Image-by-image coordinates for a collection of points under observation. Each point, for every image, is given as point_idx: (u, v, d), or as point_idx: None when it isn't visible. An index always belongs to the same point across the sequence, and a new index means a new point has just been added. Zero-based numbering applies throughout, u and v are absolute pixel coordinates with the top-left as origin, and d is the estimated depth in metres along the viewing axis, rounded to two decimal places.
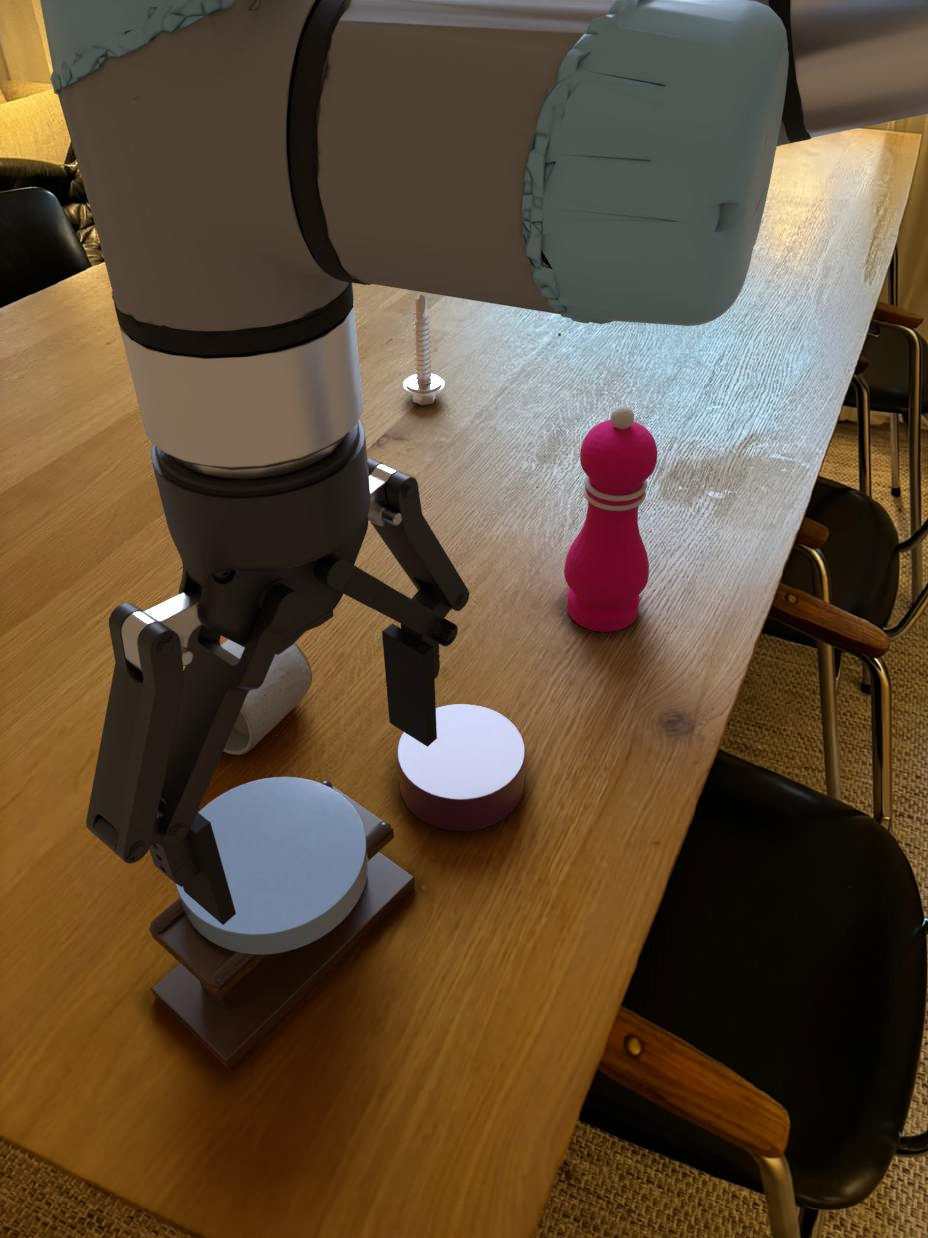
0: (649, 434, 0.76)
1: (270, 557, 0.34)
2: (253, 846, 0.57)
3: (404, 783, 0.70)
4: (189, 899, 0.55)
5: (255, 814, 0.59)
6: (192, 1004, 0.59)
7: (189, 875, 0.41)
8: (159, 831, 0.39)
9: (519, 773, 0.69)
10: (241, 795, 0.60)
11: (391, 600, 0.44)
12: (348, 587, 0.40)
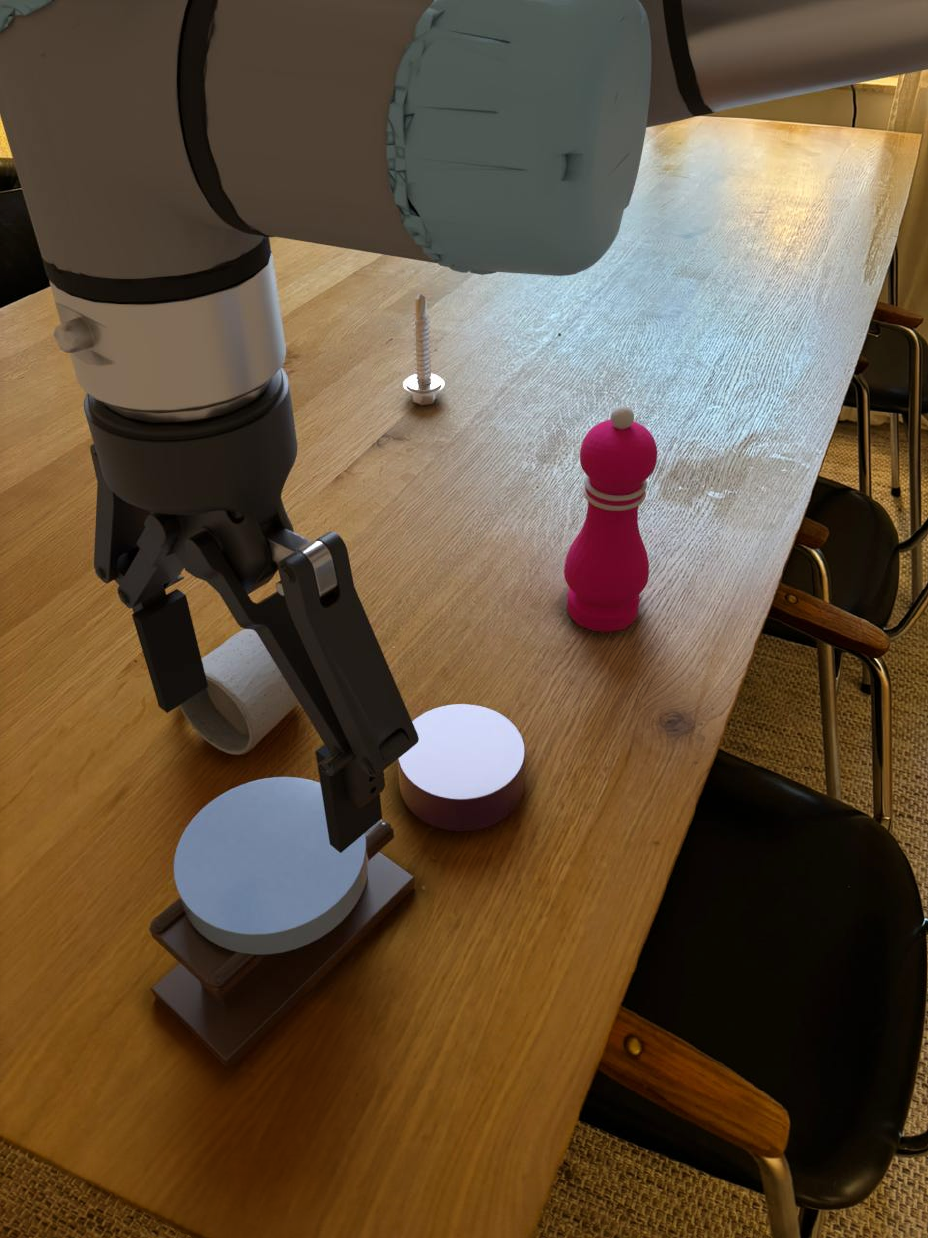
0: (649, 434, 0.76)
1: (296, 440, 0.39)
2: (253, 846, 0.57)
3: (404, 783, 0.70)
4: (189, 899, 0.55)
5: (255, 814, 0.59)
6: (192, 1004, 0.59)
7: None
8: None
9: (519, 773, 0.69)
10: (241, 795, 0.60)
11: None
12: None
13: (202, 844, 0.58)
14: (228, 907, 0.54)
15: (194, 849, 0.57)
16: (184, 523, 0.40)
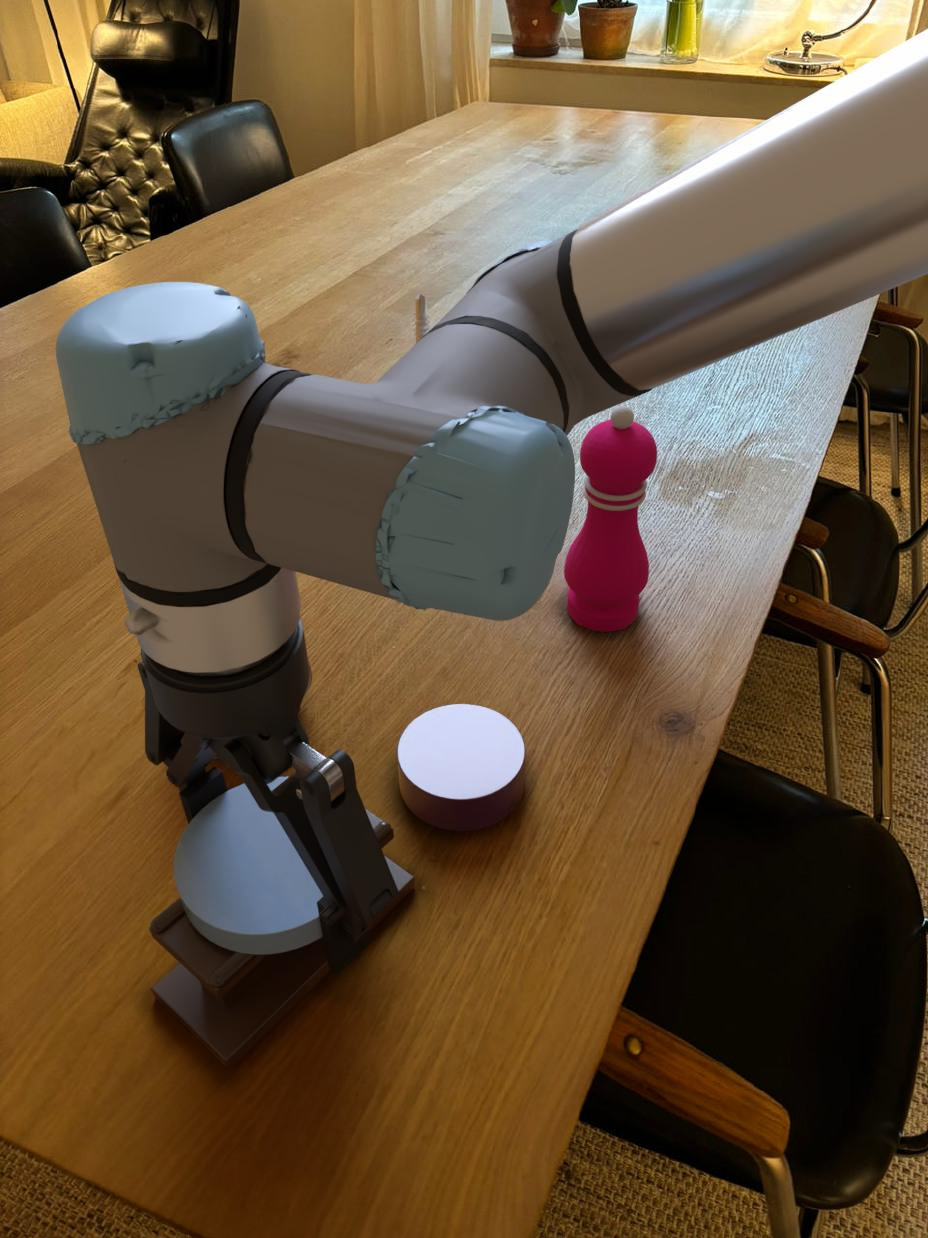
0: (649, 434, 0.76)
1: (308, 665, 0.49)
2: (253, 846, 0.57)
3: (404, 783, 0.70)
4: (189, 899, 0.55)
5: (255, 814, 0.59)
6: (192, 1004, 0.59)
7: None
8: None
9: (519, 773, 0.69)
10: (241, 795, 0.60)
11: None
12: None
13: (202, 844, 0.58)
14: (228, 907, 0.54)
15: (194, 849, 0.57)
16: None
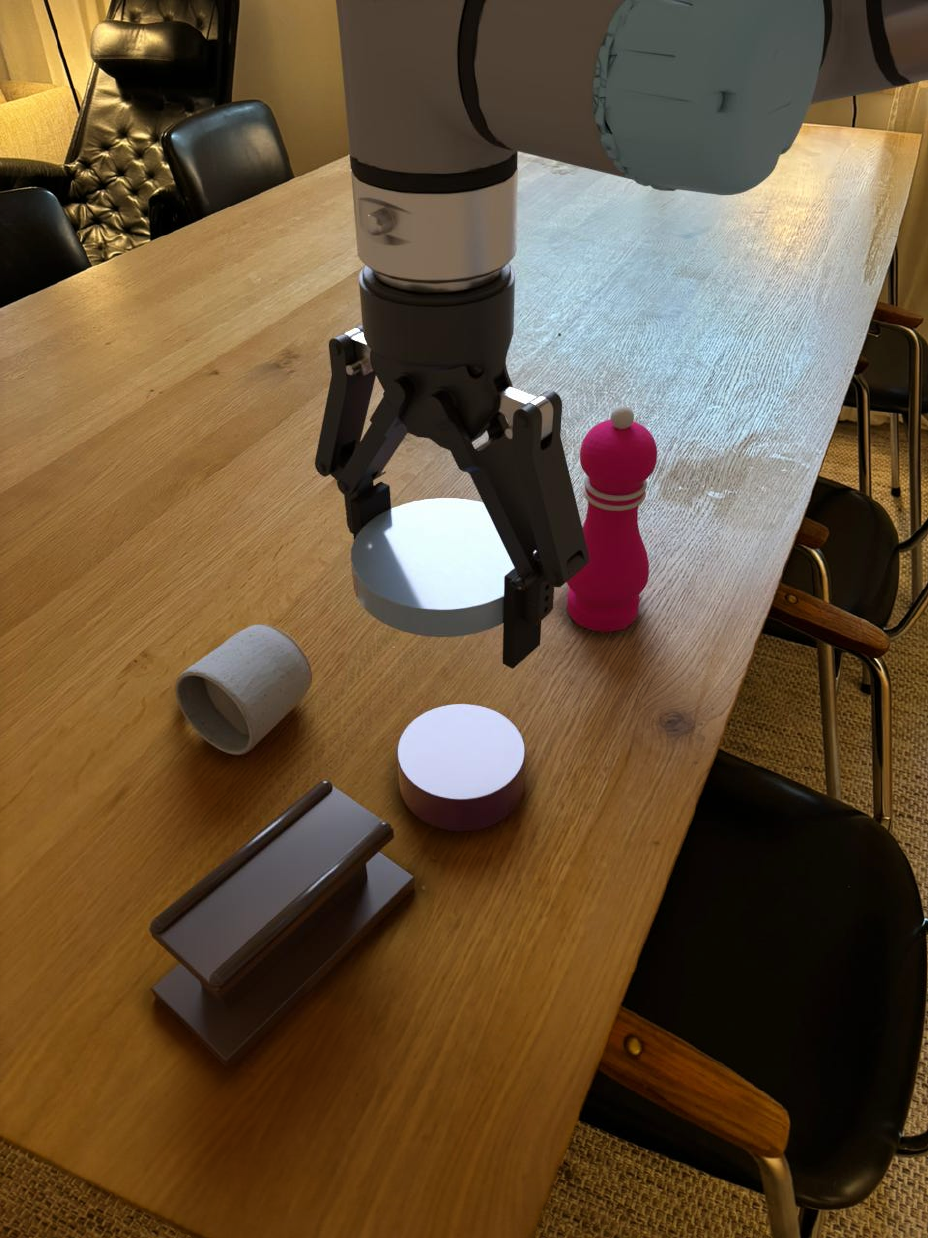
0: (649, 434, 0.76)
1: None
2: (426, 547, 0.58)
3: (404, 783, 0.70)
4: (372, 585, 0.56)
5: (423, 524, 0.60)
6: (192, 1004, 0.59)
7: None
8: None
9: (519, 773, 0.69)
10: (406, 511, 0.61)
11: None
12: None
13: (376, 546, 0.59)
14: (412, 591, 0.55)
15: (369, 550, 0.58)
16: (418, 387, 0.51)
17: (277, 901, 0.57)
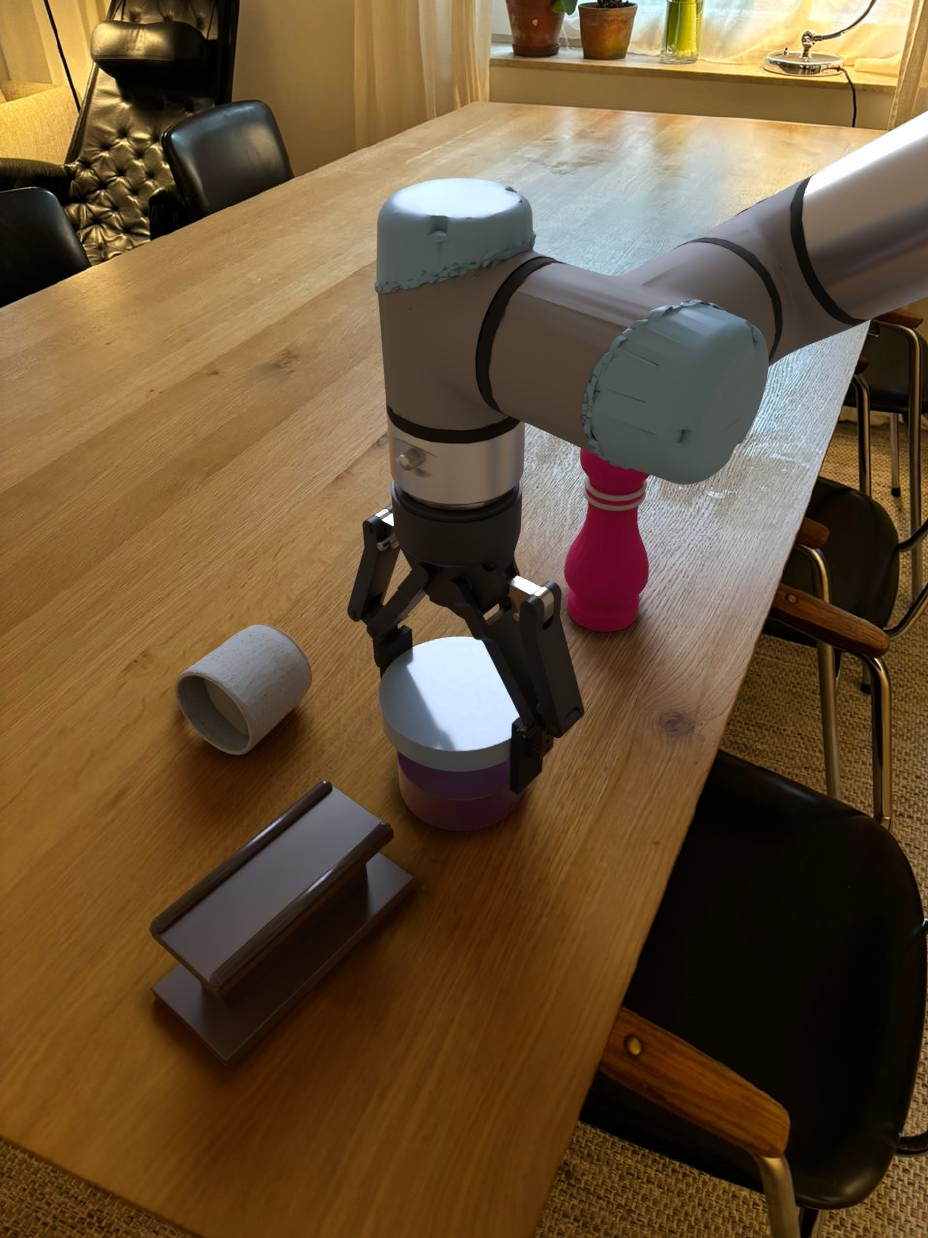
0: None
1: None
2: (444, 687, 0.67)
3: (404, 783, 0.70)
4: (398, 726, 0.65)
5: (441, 663, 0.69)
6: (192, 1004, 0.59)
7: None
8: None
9: None
10: (426, 650, 0.70)
11: None
12: None
13: (400, 686, 0.67)
14: (432, 731, 0.64)
15: (394, 689, 0.67)
16: (439, 569, 0.60)
17: (277, 901, 0.57)
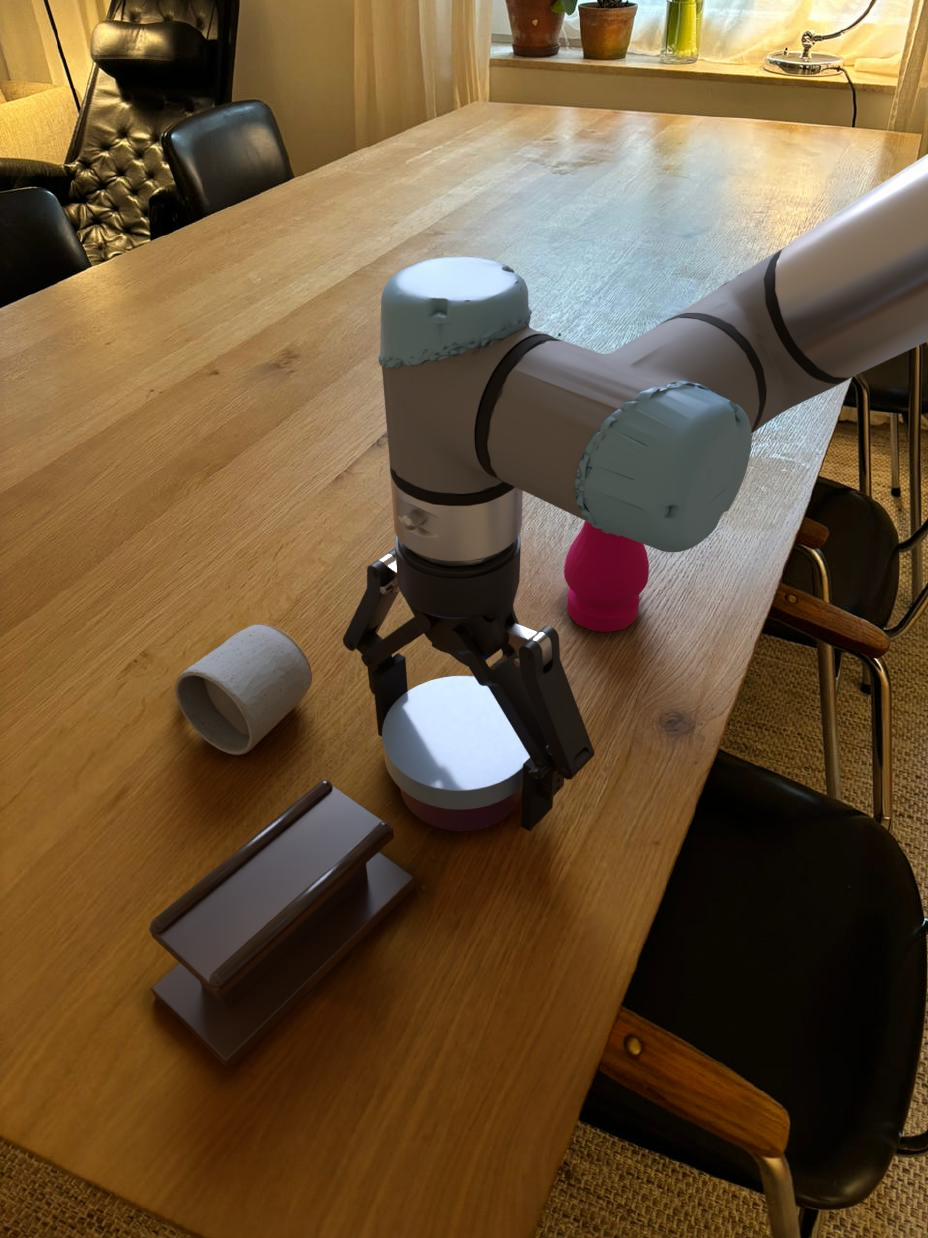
0: None
1: None
2: (445, 727, 0.70)
3: None
4: (401, 765, 0.67)
5: (442, 703, 0.72)
6: (192, 1004, 0.59)
7: None
8: None
9: None
10: (428, 689, 0.73)
11: None
12: None
13: (403, 726, 0.70)
14: (434, 771, 0.67)
15: (397, 729, 0.70)
16: (442, 618, 0.62)
17: (277, 901, 0.57)
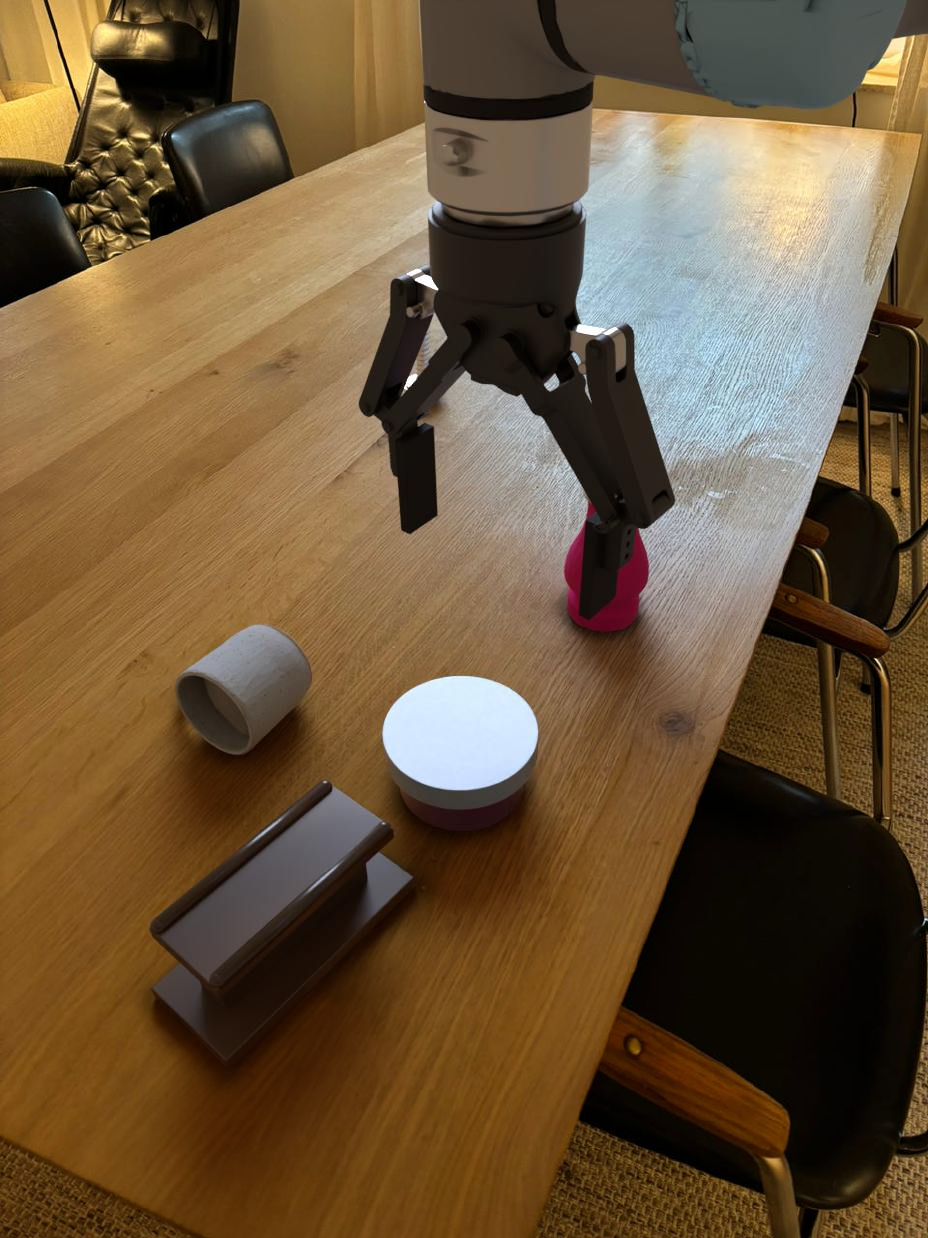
0: None
1: None
2: (445, 727, 0.70)
3: None
4: (401, 765, 0.67)
5: (442, 703, 0.72)
6: (192, 1004, 0.59)
7: None
8: None
9: None
10: (428, 689, 0.73)
11: None
12: None
13: (403, 726, 0.70)
14: (434, 771, 0.67)
15: (397, 729, 0.70)
16: (485, 331, 0.50)
17: (277, 901, 0.57)
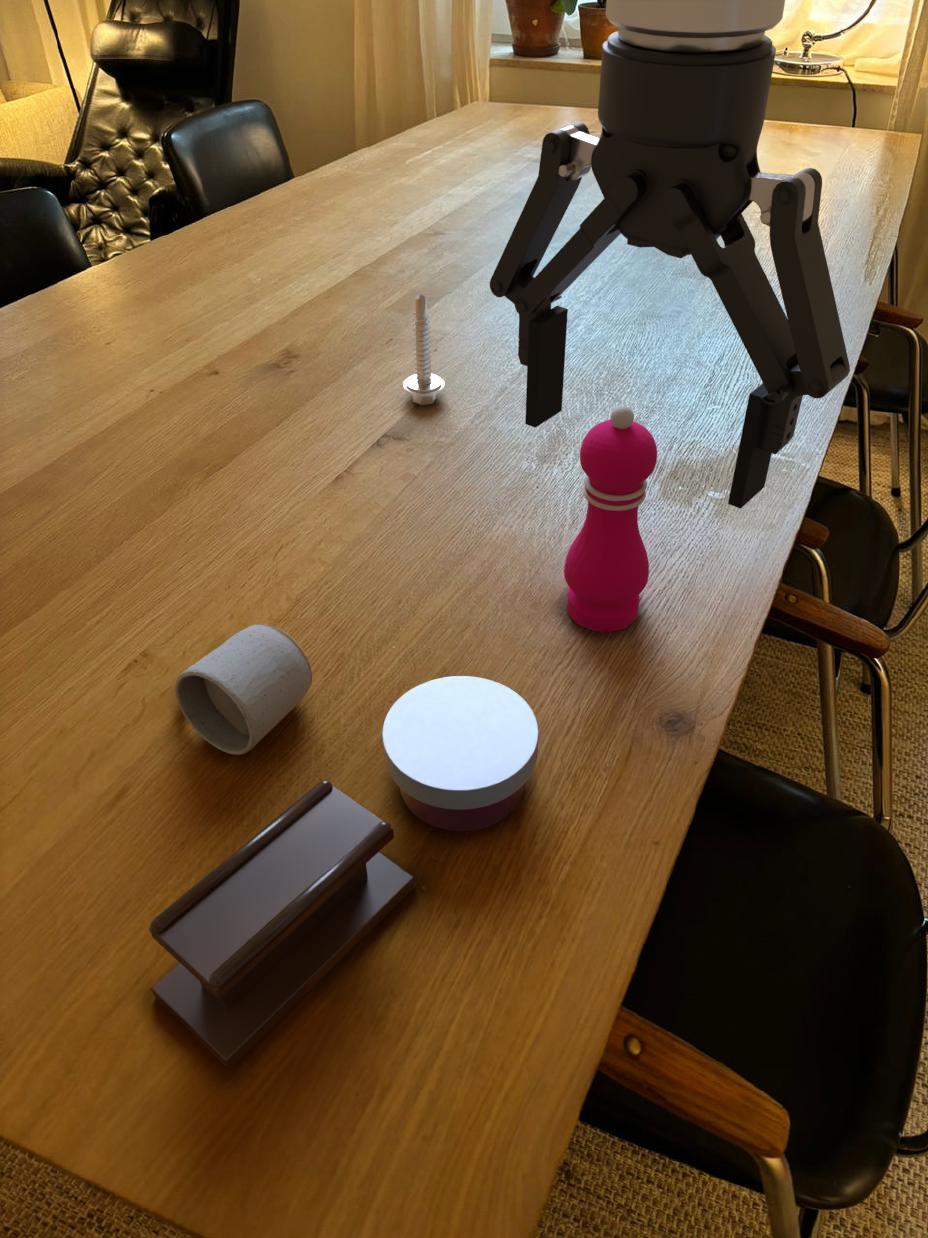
0: (649, 434, 0.76)
1: None
2: (445, 727, 0.70)
3: None
4: (401, 765, 0.67)
5: (442, 703, 0.72)
6: (192, 1004, 0.59)
7: None
8: None
9: None
10: (428, 689, 0.73)
11: None
12: None
13: (403, 726, 0.70)
14: (434, 771, 0.67)
15: (397, 729, 0.70)
16: (651, 185, 0.47)
17: (277, 901, 0.57)
